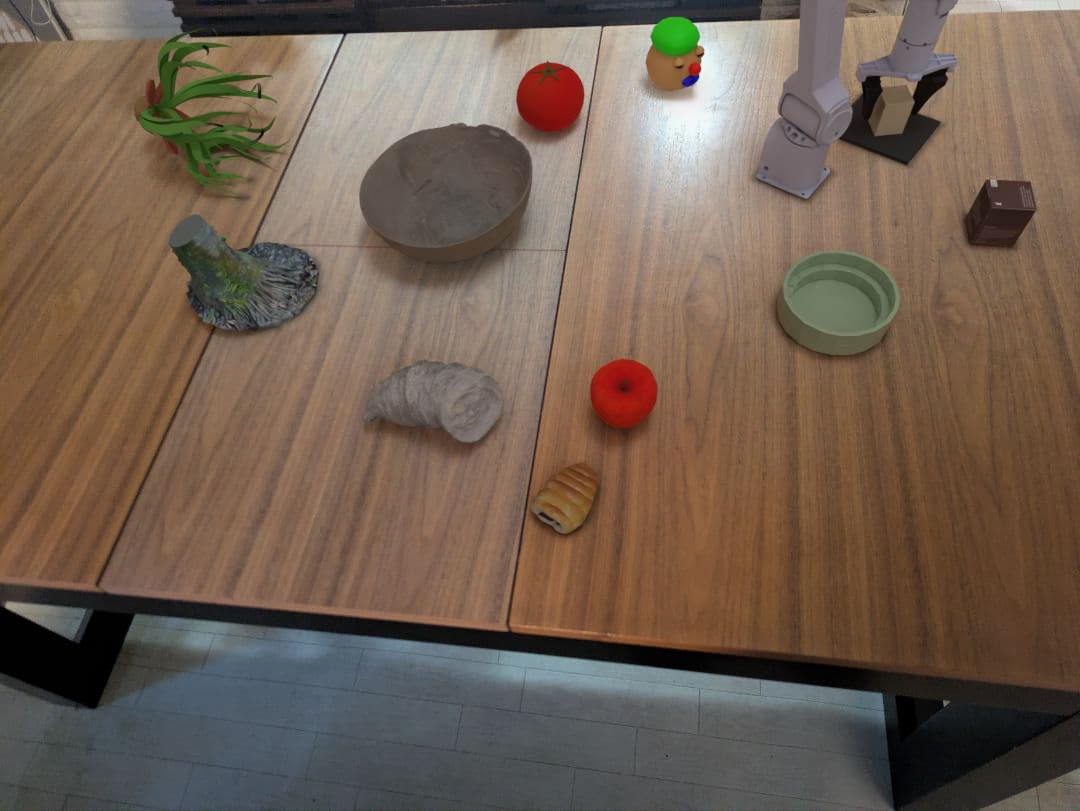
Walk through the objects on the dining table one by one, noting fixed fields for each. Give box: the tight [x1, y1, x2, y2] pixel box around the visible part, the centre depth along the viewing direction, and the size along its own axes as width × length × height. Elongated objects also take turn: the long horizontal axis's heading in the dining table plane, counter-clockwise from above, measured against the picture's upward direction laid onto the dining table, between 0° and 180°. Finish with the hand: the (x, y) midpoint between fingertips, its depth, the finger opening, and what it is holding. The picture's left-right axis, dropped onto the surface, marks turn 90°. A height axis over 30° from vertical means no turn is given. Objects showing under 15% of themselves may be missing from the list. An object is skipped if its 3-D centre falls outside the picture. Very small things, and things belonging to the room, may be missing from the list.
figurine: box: [645, 16, 706, 92], centre depth 126 cm, size 11×10×12 cm
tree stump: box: [168, 213, 320, 332], centre depth 109 cm, size 18×20×18 cm
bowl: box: [358, 122, 534, 264], centre depth 114 cm, size 28×28×10 cm
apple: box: [589, 358, 659, 429], centre depth 93 cm, size 9×9×8 cm
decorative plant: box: [133, 28, 290, 197], centre depth 125 cm, size 26×25×30 cm
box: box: [965, 179, 1038, 247], centre depth 103 cm, size 6×6×7 cm
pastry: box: [530, 461, 599, 535], centre depth 89 cm, size 9×7×4 cm
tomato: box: [515, 59, 585, 133], centre depth 125 cm, size 11×12×10 cm
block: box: [868, 84, 915, 136], centre depth 117 cm, size 4×4×6 cm
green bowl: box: [776, 249, 901, 356], centre depth 99 cm, size 15×15×5 cm
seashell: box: [361, 359, 505, 444], centre depth 94 cm, size 16×15×10 cm
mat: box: [838, 93, 941, 166], centre depth 119 cm, size 14×12×1 cm
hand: (889, 113), depth 117 cm, fingers open, 7 cm apart
